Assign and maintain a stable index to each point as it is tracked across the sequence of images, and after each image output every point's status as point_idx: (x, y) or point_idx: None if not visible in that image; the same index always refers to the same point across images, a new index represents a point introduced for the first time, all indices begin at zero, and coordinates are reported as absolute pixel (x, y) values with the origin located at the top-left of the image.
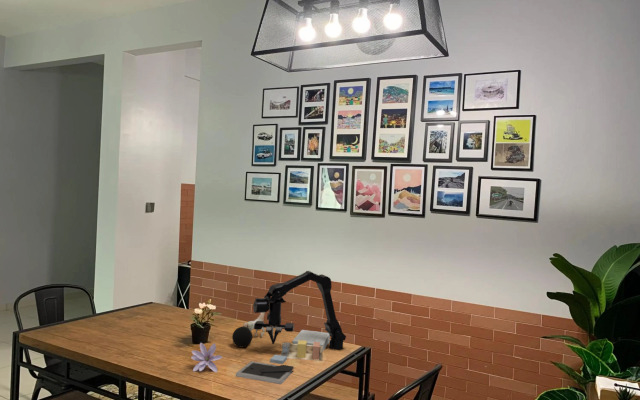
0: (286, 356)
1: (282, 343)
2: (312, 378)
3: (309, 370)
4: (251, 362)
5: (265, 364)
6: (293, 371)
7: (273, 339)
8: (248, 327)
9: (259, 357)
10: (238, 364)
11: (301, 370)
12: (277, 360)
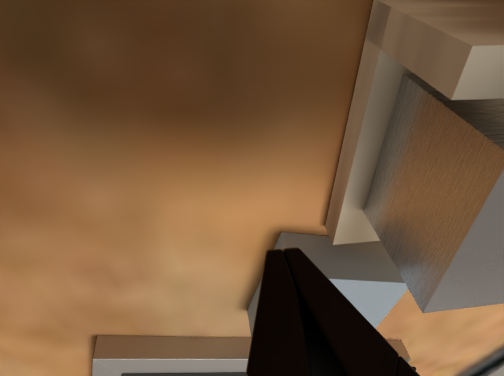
0: (405, 284)
1: (470, 62)
2: (472, 368)
3: (501, 311)
4: (107, 372)
5: (224, 367)
6: (399, 343)
7: (298, 315)
8: None
9: (105, 206)
10: (3, 360)
11: (452, 322)
12: None
